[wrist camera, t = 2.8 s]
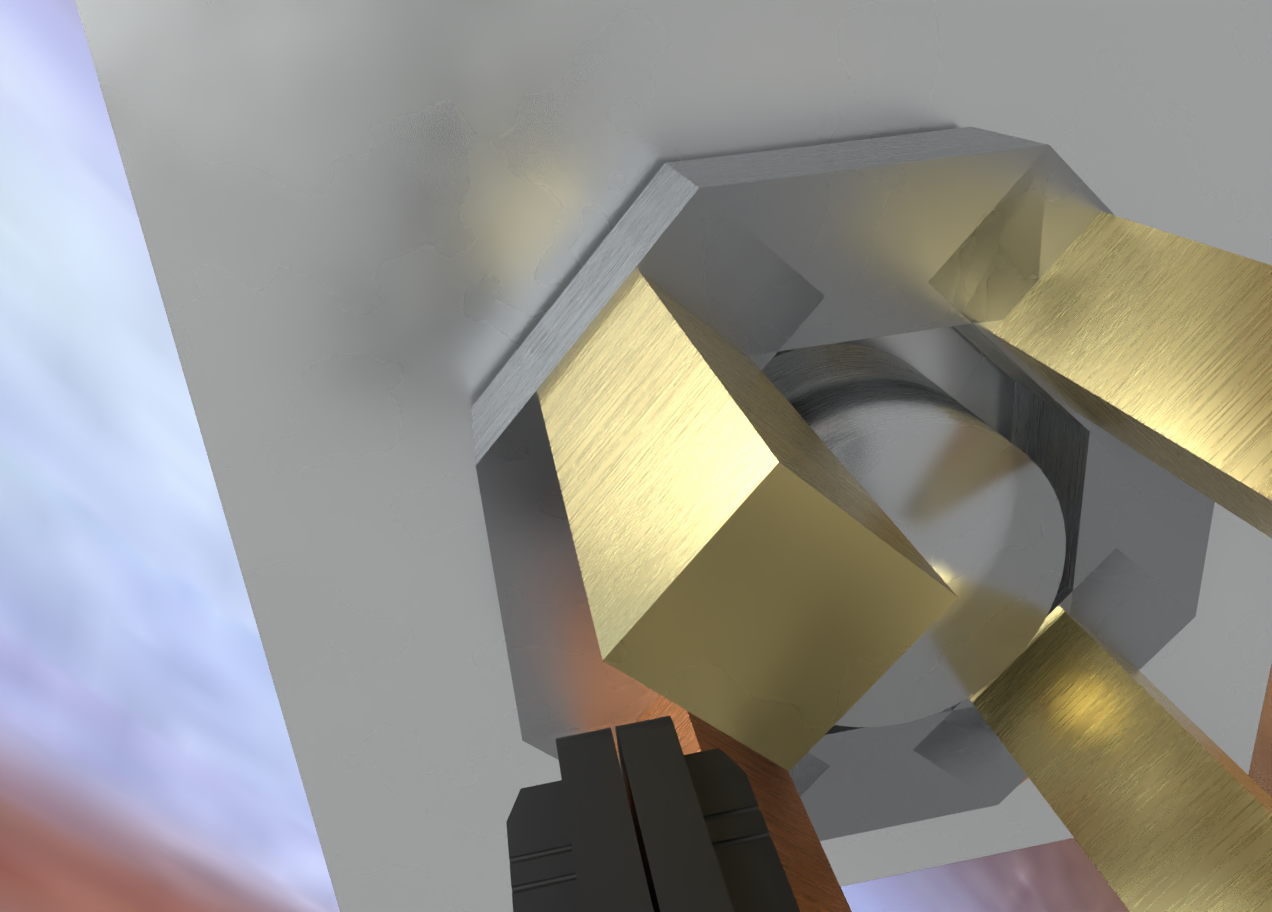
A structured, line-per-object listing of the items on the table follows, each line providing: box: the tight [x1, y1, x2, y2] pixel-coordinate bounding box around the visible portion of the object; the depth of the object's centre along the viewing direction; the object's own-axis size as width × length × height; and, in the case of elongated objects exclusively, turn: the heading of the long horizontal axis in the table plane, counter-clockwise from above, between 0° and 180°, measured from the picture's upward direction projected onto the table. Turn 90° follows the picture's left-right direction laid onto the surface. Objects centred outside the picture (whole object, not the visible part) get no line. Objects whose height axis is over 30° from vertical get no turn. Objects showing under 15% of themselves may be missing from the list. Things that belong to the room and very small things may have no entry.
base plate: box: [75, 0, 1272, 912], centre depth 19 cm, size 22×22×5 cm
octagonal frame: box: [471, 127, 1272, 912], centre depth 16 cm, size 13×13×9 cm
